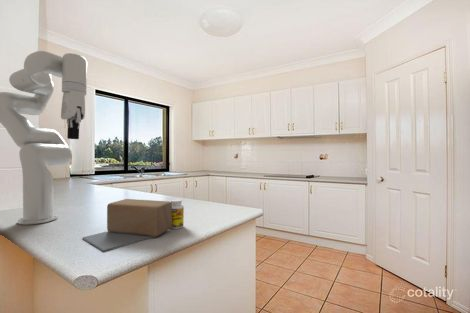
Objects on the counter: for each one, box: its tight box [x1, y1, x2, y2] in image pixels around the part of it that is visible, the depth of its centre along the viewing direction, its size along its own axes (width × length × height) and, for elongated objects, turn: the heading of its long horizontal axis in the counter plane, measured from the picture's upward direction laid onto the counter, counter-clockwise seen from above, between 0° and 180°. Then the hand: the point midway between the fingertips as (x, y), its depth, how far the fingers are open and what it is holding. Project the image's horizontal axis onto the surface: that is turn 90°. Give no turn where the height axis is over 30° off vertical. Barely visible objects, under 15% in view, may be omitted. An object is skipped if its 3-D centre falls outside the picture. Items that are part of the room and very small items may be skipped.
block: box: [106, 198, 172, 237], centre depth 84 cm, size 10×10×20 cm
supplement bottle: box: [170, 198, 185, 230], centre depth 89 cm, size 6×6×10 cm
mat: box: [82, 230, 156, 253], centre depth 79 cm, size 16×18×1 cm
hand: (73, 138), depth 88 cm, fingers closed
